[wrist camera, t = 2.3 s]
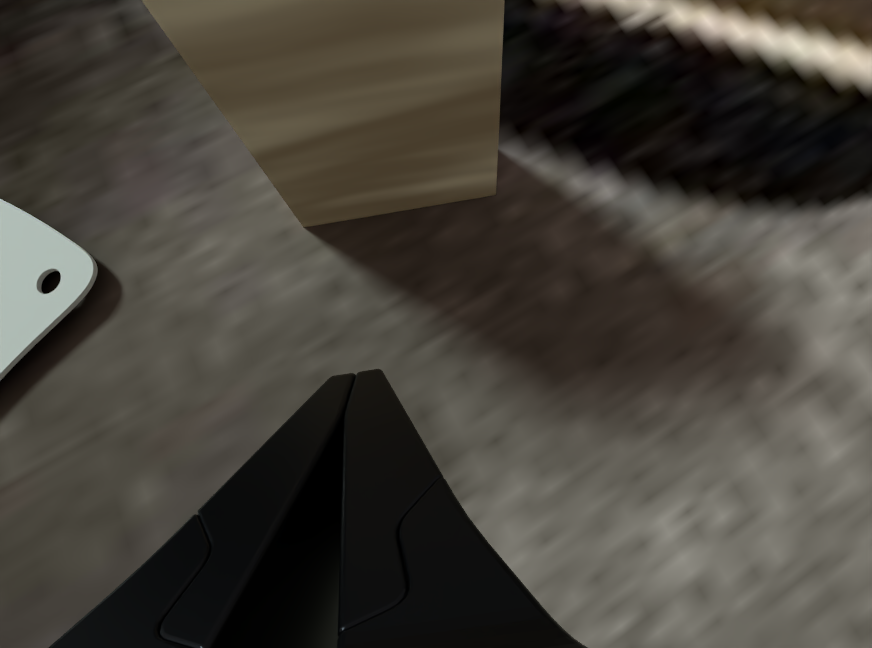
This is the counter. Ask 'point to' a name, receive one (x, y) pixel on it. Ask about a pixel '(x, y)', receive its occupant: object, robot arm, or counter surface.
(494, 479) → the counter surface
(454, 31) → the birch tile
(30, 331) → the kitchen cleaver
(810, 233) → the counter surface
